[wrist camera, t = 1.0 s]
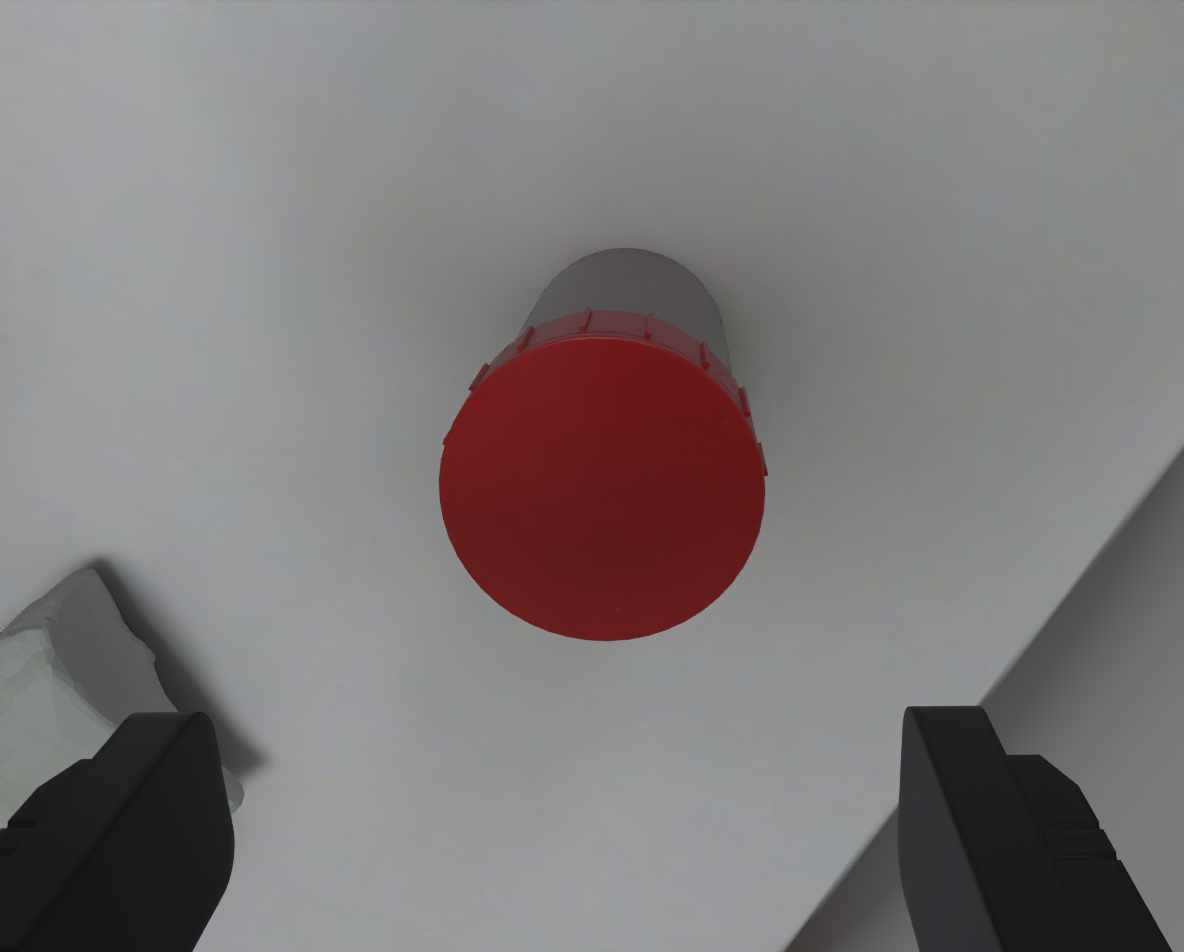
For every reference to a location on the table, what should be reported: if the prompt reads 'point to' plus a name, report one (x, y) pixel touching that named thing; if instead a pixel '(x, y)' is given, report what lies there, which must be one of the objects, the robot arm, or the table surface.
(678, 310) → the jar
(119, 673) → the decorative stone
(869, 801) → the table surface
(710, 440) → the lid
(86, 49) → the table surface
